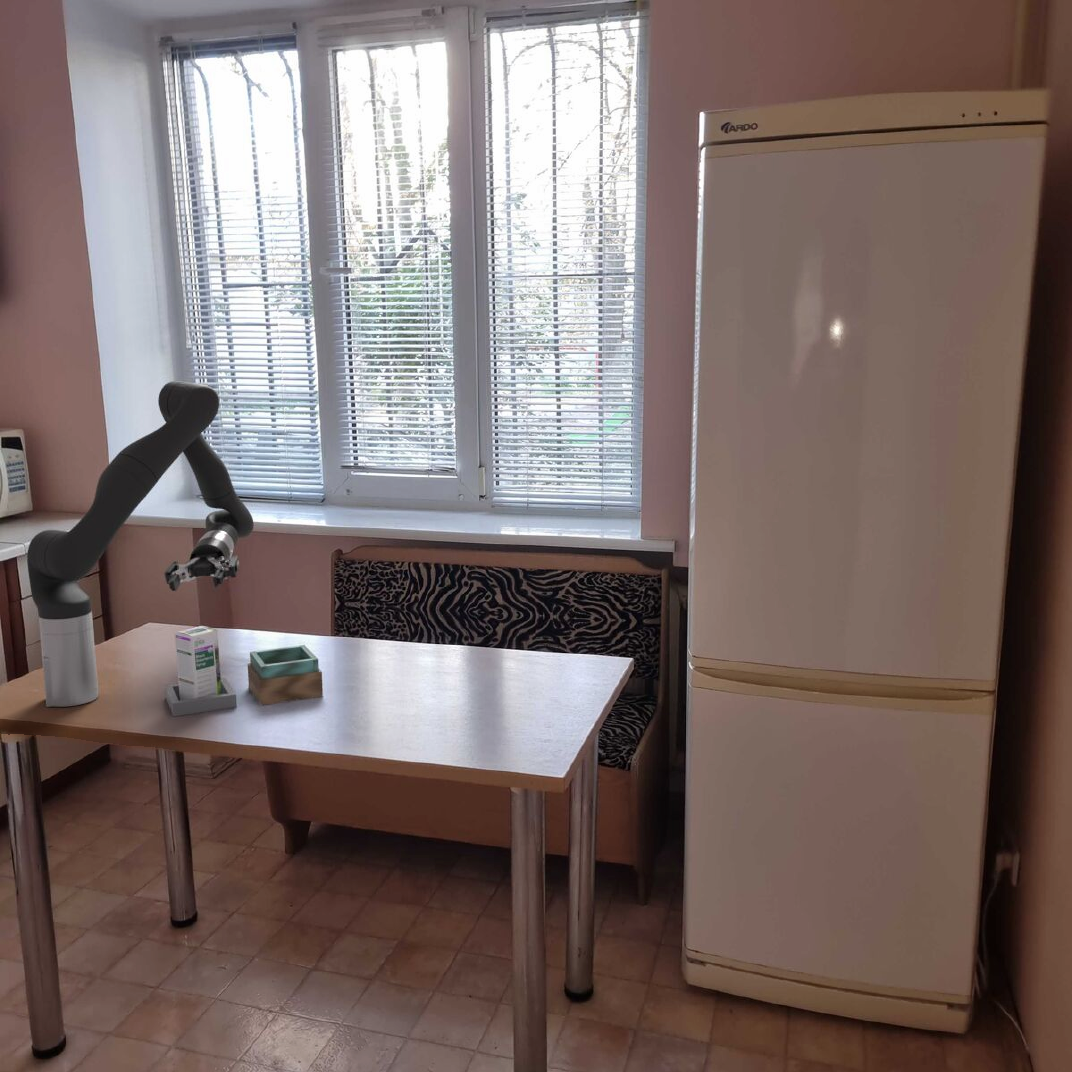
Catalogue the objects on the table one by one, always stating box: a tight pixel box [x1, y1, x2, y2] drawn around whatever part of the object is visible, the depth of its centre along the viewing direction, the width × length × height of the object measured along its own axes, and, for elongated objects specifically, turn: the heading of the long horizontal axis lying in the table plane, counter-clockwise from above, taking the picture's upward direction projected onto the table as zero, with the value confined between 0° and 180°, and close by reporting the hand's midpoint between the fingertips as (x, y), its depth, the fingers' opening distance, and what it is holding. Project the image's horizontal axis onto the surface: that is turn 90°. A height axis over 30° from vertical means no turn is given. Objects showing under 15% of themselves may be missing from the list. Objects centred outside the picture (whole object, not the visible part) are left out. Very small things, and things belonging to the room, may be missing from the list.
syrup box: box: [174, 625, 222, 701], centre depth 185 cm, size 6×6×14 cm
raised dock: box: [247, 644, 324, 706], centre depth 192 cm, size 12×12×8 cm
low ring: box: [164, 677, 238, 717], centre depth 186 cm, size 11×11×2 cm
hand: (194, 584), depth 194 cm, fingers open, 8 cm apart
